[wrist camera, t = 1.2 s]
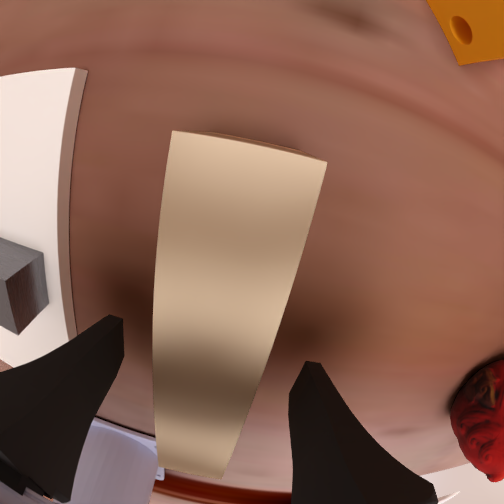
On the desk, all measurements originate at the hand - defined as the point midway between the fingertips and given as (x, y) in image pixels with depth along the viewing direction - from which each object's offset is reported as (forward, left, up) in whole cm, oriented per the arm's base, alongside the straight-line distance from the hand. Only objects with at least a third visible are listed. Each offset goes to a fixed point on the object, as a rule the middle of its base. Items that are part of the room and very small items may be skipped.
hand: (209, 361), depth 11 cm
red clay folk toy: (-3, -21, -3) cm, 21 cm away
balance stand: (0, +17, -3) cm, 17 cm away
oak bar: (0, 0, -3) cm, 3 cm away
